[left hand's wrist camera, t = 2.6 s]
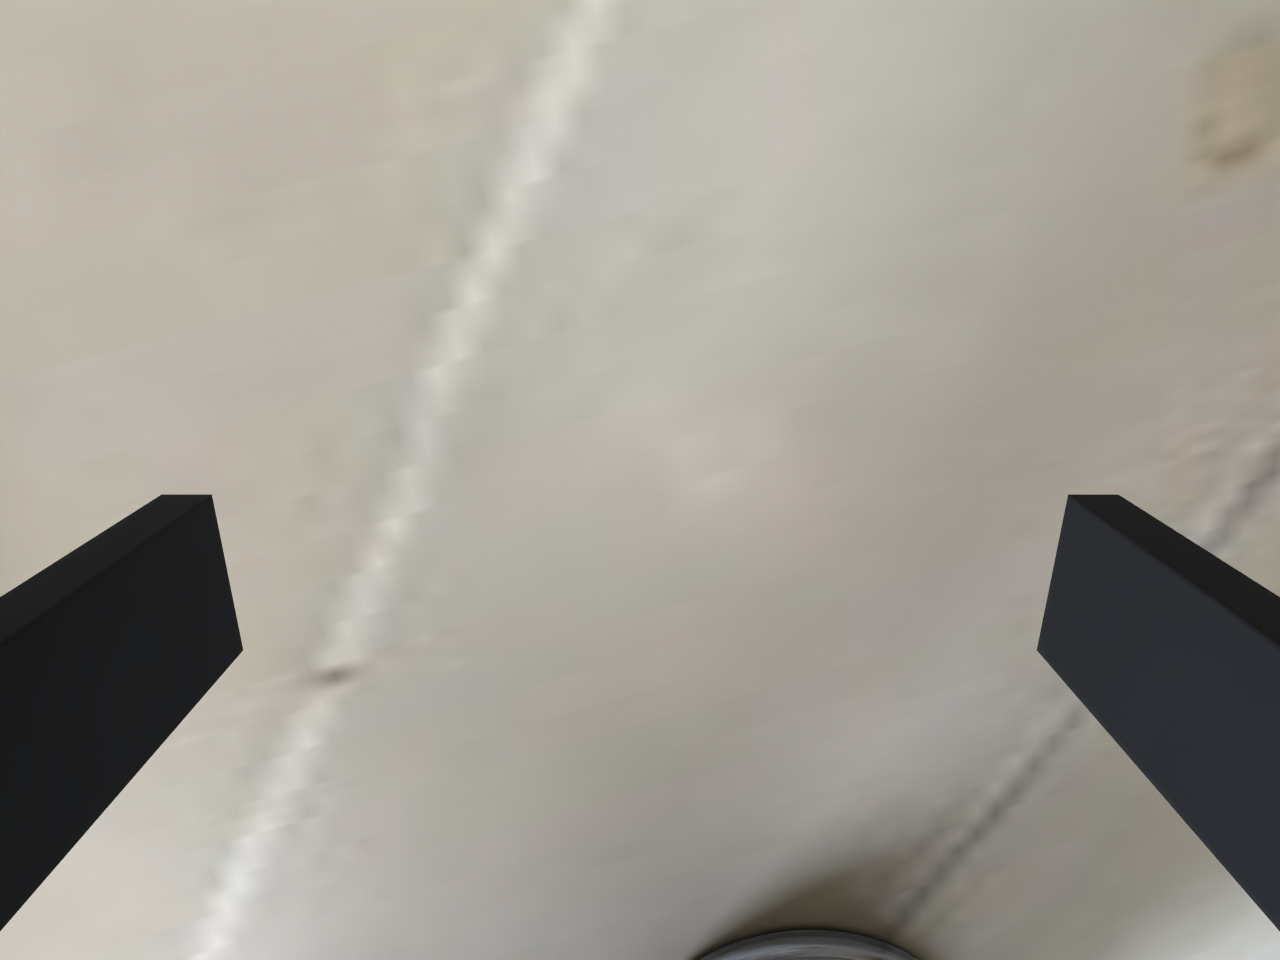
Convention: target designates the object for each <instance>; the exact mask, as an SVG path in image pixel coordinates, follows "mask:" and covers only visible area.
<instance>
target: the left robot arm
mask: <svg viewBox="0 0 1280 960" xmlns="http://www.w3.org/2000/svg"><path fill="white" fill-rule="evenodd" d="M242 651H243V647H242V642H241V637H240V632H239V627H238V622H237V617H236V613H235V608H234V603H233V598H232V593H231V588H230V583H229V578H228V573H227V568H226V563H225V558H224V553H223V548H222V543H221V538H220V533H219V528H218V523H217V519H216V514H215V509H214V504H213V499H212V495H160V496H159V497H157V498H156V499H154V500H153V501H151V502H149V503H148V504H146V505H145V506H143V507H142V508H140V509H138V510H137V511H135V512H134V513H132V514H130V515H129V516H127V517H126V518H124V519H123V520H121V521H119V522H118V523H116V524H115V525H113V526H112V527H110V528H108V529H107V530H105V531H104V532H102V533H101V534H99V535H97V536H96V537H94V538H93V539H91V540H90V541H88V542H86V543H85V544H83V545H82V546H80V547H79V548H77V549H75V550H74V551H72V552H71V553H69V554H68V555H66V556H64V557H63V558H61V559H60V560H58V561H57V562H55V563H53V564H52V565H50V566H49V567H47V568H46V569H44V570H42V571H41V572H39V573H38V574H36V575H35V576H33V577H31V578H30V579H28V580H27V581H25V582H23V583H22V584H20V585H19V586H17V587H16V588H14V589H12V590H11V591H9V592H8V593H6V594H5V595H3V596H1V597H0V931H1V930H2V929H3V927H4V926H5V925H6V924H7V923H8V922H9V920H10V919H11V918H12V917H13V916H14V915H15V913H16V912H17V911H18V910H19V909H20V908H21V907H22V905H23V904H24V903H25V902H26V901H27V900H28V898H29V897H30V896H31V895H32V894H33V893H34V892H35V890H36V889H37V888H38V887H39V886H40V885H41V883H42V882H43V881H44V880H45V879H46V878H47V876H48V875H49V874H50V873H51V872H52V871H53V870H54V868H55V867H56V866H57V865H58V864H59V863H60V861H61V860H62V859H63V858H64V857H65V856H66V854H67V853H68V852H69V851H70V850H71V849H72V848H73V846H74V845H75V844H76V843H77V842H78V841H79V839H80V838H81V837H82V836H83V835H84V834H85V832H86V831H87V830H88V829H89V828H90V827H91V826H92V824H93V823H94V822H95V821H96V820H97V819H98V817H99V816H100V815H101V814H102V813H103V812H104V810H105V809H106V808H107V807H108V806H109V805H110V804H111V802H112V801H113V800H114V799H115V798H116V797H117V795H118V794H119V793H120V792H121V791H122V790H123V788H124V787H125V786H126V785H127V784H128V783H129V782H130V780H131V779H132V778H133V777H134V776H135V775H136V773H137V772H138V771H139V770H140V769H141V768H142V767H143V765H144V764H145V763H146V762H147V761H148V760H149V758H150V757H151V756H152V755H153V754H154V753H155V751H156V750H157V749H158V748H159V747H160V746H161V745H162V743H163V742H164V741H165V740H166V739H167V738H168V736H169V735H170V734H171V733H172V732H173V731H174V729H175V728H176V727H177V726H178V725H179V724H180V723H181V721H182V720H183V719H184V718H185V717H186V716H187V714H188V713H189V712H190V711H191V710H192V709H193V707H194V706H195V705H196V704H197V703H198V702H199V701H200V699H201V698H202V697H203V696H204V695H205V694H206V692H207V691H208V690H209V689H210V688H211V687H212V685H213V684H214V683H215V682H216V681H217V680H218V679H219V677H220V676H221V675H222V674H223V673H224V672H225V670H226V669H227V668H228V667H229V666H230V665H231V663H232V662H233V661H234V660H235V659H236V658H237V657H238V655H239V654H240V653H241V652H242ZM1037 651H1038V652H1039V653H1040V654H1041V655H1042V657H1043V658H1044V659H1045V660H1046V661H1047V662H1048V663H1049V665H1050V666H1051V667H1052V668H1053V669H1054V670H1055V672H1056V673H1057V674H1058V675H1059V676H1060V677H1061V679H1062V680H1063V681H1064V682H1065V683H1066V684H1067V685H1068V687H1069V688H1070V689H1071V690H1072V691H1073V692H1074V694H1075V695H1076V696H1077V697H1078V698H1079V699H1080V701H1081V702H1082V703H1083V704H1084V705H1085V706H1086V707H1087V709H1088V710H1089V711H1090V712H1091V713H1092V714H1093V716H1094V717H1095V718H1096V719H1097V720H1098V721H1099V723H1100V724H1101V725H1102V726H1103V727H1104V728H1105V729H1106V731H1107V732H1108V733H1109V734H1110V735H1111V736H1112V738H1113V739H1114V740H1115V741H1116V742H1117V743H1118V745H1119V746H1120V747H1121V748H1122V749H1123V750H1124V751H1125V753H1126V754H1127V755H1128V756H1129V757H1130V758H1131V760H1132V761H1133V762H1134V763H1135V764H1136V765H1137V767H1138V768H1139V769H1140V770H1141V771H1142V772H1143V773H1144V775H1145V776H1146V777H1147V778H1148V779H1149V780H1150V782H1151V783H1152V784H1153V785H1154V786H1155V787H1156V788H1157V790H1158V791H1159V792H1160V793H1161V794H1162V795H1163V797H1164V798H1165V799H1166V800H1167V801H1168V802H1169V804H1170V805H1171V806H1172V807H1173V808H1174V809H1175V810H1176V812H1177V813H1178V814H1179V815H1180V816H1181V817H1182V819H1183V820H1184V821H1185V822H1186V823H1187V824H1188V826H1189V827H1190V828H1191V829H1192V830H1193V831H1194V832H1195V834H1196V835H1197V836H1198V837H1199V838H1200V839H1201V841H1202V842H1203V843H1204V844H1205V845H1206V846H1207V848H1208V849H1209V850H1210V851H1211V852H1212V853H1213V854H1214V856H1215V857H1216V858H1217V859H1218V860H1219V861H1220V863H1221V864H1222V865H1223V866H1224V867H1225V868H1226V870H1227V871H1228V872H1229V873H1230V874H1231V875H1232V876H1233V878H1234V879H1235V880H1236V881H1237V882H1238V883H1239V885H1240V886H1241V887H1242V888H1243V889H1244V890H1245V892H1246V893H1247V894H1248V895H1249V896H1250V897H1251V898H1252V900H1253V901H1254V902H1255V903H1256V904H1257V905H1258V907H1259V908H1260V909H1261V910H1262V911H1263V912H1264V913H1265V915H1266V916H1267V917H1268V918H1269V919H1270V920H1271V922H1272V923H1273V924H1274V925H1275V926H1276V927H1277V929H1278V930H1279V931H1280V597H1279V596H1277V595H1275V594H1274V593H1272V592H1271V591H1269V590H1268V589H1266V588H1264V587H1263V586H1261V585H1260V584H1258V583H1257V582H1255V581H1253V580H1252V579H1250V578H1249V577H1247V576H1245V575H1244V574H1242V573H1241V572H1239V571H1238V570H1236V569H1234V568H1233V567H1231V566H1230V565H1228V564H1227V563H1225V562H1223V561H1222V560H1220V559H1219V558H1217V557H1216V556H1214V555H1212V554H1211V553H1209V552H1208V551H1206V550H1205V549H1203V548H1201V547H1200V546H1198V545H1197V544H1195V543H1194V542H1192V541H1190V540H1189V539H1187V538H1186V537H1184V536H1183V535H1181V534H1179V533H1178V532H1176V531H1175V530H1173V529H1172V528H1170V527H1168V526H1167V525H1165V524H1164V523H1162V522H1161V521H1159V520H1157V519H1156V518H1154V517H1153V516H1151V515H1150V514H1148V513H1146V512H1145V511H1143V510H1142V509H1140V508H1138V507H1137V506H1135V505H1134V504H1132V503H1131V502H1129V501H1127V500H1126V499H1124V498H1123V497H1121V496H1120V495H1068V499H1067V504H1066V509H1065V514H1064V519H1063V523H1062V528H1061V533H1060V538H1059V543H1058V548H1057V553H1056V558H1055V563H1054V568H1053V573H1052V578H1051V583H1050V588H1049V593H1048V598H1047V603H1046V608H1045V613H1044V617H1043V622H1042V627H1041V632H1040V637H1039V642H1038V647H1037ZM699 960H918V959H916V958H915V957H913V956H911V955H910V954H908V953H906V952H905V951H903V950H901V949H898V948H896V947H894V946H892V945H890V944H887V943H884V942H882V941H879V940H876V939H873V938H869V937H866V936H862V935H857V934H852V933H847V932H839V931H830V930H793V931H783V932H776V933H770V934H765V935H760V936H756V937H752V938H748V939H745V940H742V941H739V942H736V943H733V944H730V945H728V946H725V947H723V948H721V949H718V950H716V951H714V952H712V953H710V954H708V955H706V956H704V957H703V958H701V959H699Z"/></svg>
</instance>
